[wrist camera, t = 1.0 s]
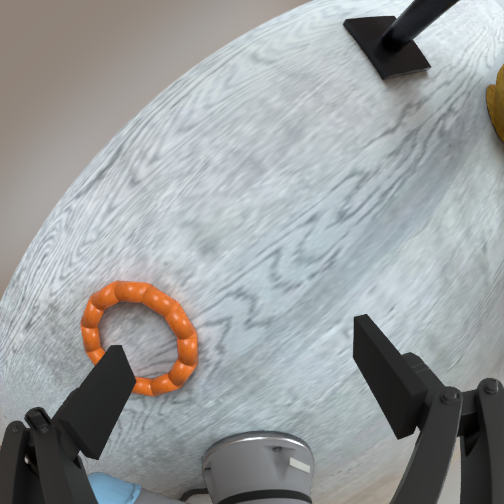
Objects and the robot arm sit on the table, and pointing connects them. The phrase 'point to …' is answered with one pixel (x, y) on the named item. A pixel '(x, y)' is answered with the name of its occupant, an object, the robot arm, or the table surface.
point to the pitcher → (497, 103)
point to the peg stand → (397, 37)
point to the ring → (159, 304)
